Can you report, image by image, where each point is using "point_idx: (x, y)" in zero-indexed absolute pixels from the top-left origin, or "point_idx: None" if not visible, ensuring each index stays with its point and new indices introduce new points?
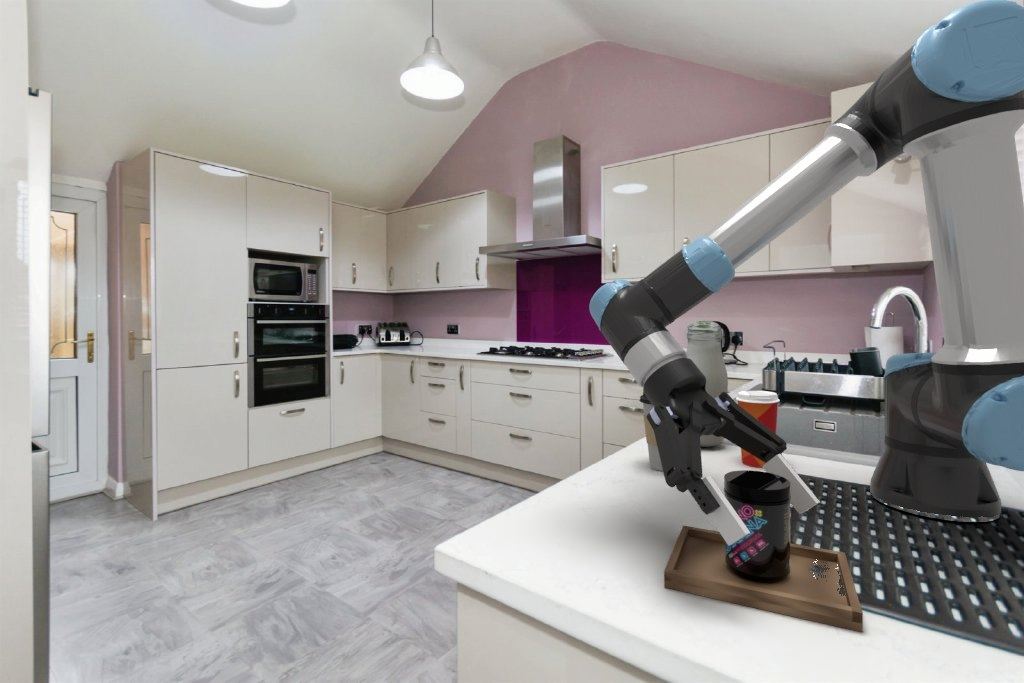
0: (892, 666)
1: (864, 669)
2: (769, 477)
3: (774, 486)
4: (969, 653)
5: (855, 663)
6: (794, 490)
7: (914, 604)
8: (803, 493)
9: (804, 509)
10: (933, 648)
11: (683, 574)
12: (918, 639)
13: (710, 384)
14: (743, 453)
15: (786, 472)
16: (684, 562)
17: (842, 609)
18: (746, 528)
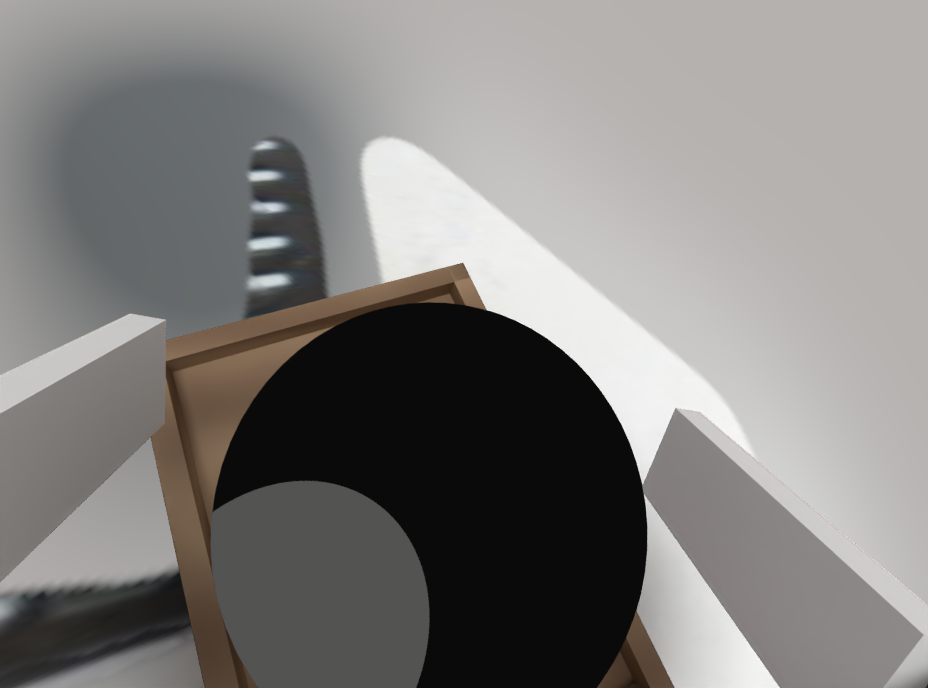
0: (514, 240)
1: (555, 267)
2: (339, 445)
3: (496, 356)
4: (387, 167)
5: (551, 278)
6: (102, 416)
7: (264, 229)
8: (122, 368)
9: (160, 392)
10: (414, 202)
11: (646, 641)
12: (403, 218)
13: None
14: None
15: (5, 445)
16: None
17: (477, 292)
18: (690, 416)
